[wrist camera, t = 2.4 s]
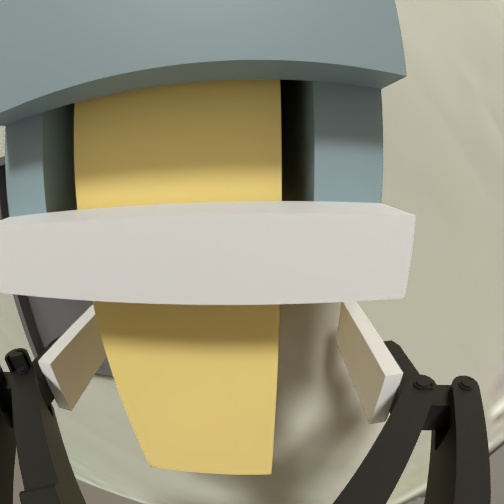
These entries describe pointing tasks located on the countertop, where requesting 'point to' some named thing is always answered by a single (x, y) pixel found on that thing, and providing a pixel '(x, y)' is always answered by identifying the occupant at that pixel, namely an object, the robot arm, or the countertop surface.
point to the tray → (45, 304)
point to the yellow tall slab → (181, 315)
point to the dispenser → (204, 213)
